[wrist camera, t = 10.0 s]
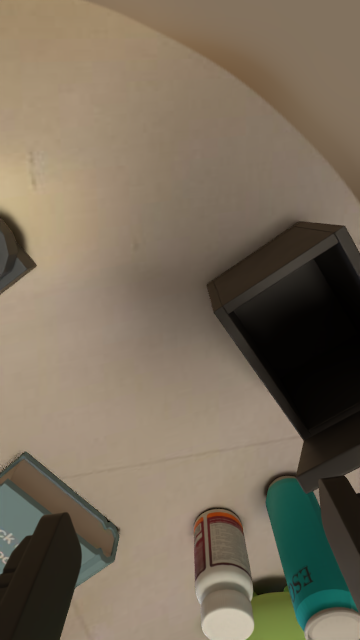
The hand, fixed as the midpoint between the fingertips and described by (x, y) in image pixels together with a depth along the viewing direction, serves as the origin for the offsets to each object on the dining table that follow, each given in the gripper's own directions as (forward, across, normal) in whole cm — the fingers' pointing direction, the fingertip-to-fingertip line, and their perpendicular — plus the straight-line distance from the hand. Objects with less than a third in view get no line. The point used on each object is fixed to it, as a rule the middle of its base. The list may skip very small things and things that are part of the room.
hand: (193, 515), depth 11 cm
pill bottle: (+26, +1, +29) cm, 39 cm away
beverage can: (+26, -8, +25) cm, 37 cm away
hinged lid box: (+26, -10, +2) cm, 27 cm away
